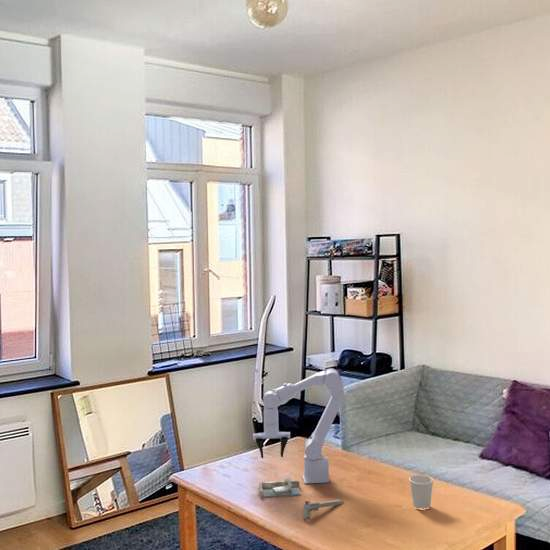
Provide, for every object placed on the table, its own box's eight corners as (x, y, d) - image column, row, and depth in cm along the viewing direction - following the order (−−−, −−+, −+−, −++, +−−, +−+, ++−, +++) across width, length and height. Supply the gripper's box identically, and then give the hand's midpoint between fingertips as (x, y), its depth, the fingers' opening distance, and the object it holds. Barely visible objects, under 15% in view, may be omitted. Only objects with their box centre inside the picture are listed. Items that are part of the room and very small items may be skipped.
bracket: (287, 488, 249) (287, 476, 249) (291, 491, 246) (291, 480, 245) (272, 490, 247) (272, 478, 247) (276, 494, 244) (275, 482, 243)
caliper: (305, 521, 222) (304, 502, 221) (302, 520, 223) (302, 501, 222) (344, 503, 236) (343, 485, 236) (341, 502, 237) (341, 485, 237)
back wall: (299, 486, 252) (299, 480, 252) (299, 487, 251) (299, 480, 251) (259, 488, 251) (259, 482, 251) (260, 489, 250) (260, 483, 250)
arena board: (298, 487, 251) (298, 486, 251) (301, 495, 243) (301, 493, 243) (261, 489, 250) (261, 488, 250) (263, 497, 242) (263, 496, 242)
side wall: (261, 489, 250) (261, 483, 250) (263, 497, 242) (262, 490, 242) (258, 489, 250) (258, 483, 250) (260, 497, 242) (260, 491, 242)
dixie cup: (437, 505, 232) (436, 477, 231) (429, 513, 224) (429, 484, 224) (413, 500, 236) (413, 473, 235) (406, 509, 229) (405, 480, 228)
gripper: (288, 418, 263) (289, 452, 264) (252, 420, 262) (252, 454, 262) (290, 423, 256) (291, 458, 257) (253, 425, 255) (253, 460, 255)
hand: (271, 456), depth 259 cm, fingers open, 7 cm apart
